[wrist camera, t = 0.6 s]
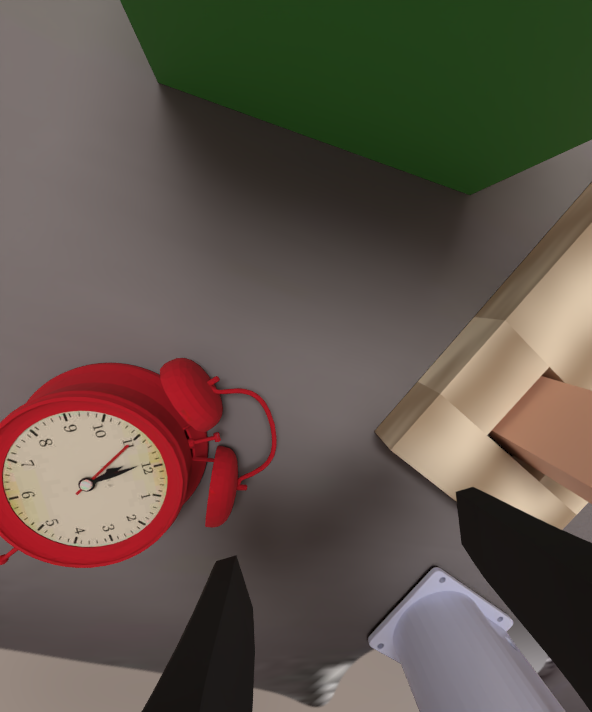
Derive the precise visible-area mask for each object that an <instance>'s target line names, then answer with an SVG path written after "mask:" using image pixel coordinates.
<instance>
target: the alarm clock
mask: <svg viewBox="0 0 592 712" xmlns="http://www.w3.org/2000/svg"><path fill="white" fill-rule="evenodd" d="M219 380H220V379H219V377H217V376H216V377H214V378H212V379H210V377H209V376H208V375H207V373H206V372H205V371H204V370H203V369H202V368H201V367H200V366H199V365H198V364H196V363H195V362H194V361H192V360H189V359H186V358H176V359H174V360H171V361H169V362H167V363H165V364H164V365H163V366H162V368H161V369H160V375H159V374H157V373H155V372H153V371H150V370H147V369H144V368H141V367H138V366H134V365H129V364H122V363H98V364H90V365H86V366H82V367H78V368H75V369H72V370H70V371H67V372H65V373H63V374H60V375H58V376H57V377H55V378H53V379H51V380H50V381H48V382H47V383H45V384H44V385H43V386H41V387H40V388H39V389H38V390H37V391H36V392H35V393H34V394H33V395H32V396H31V397H30V399H29V400H28V401H27V403H26V404H24V405H22V406H20V407H19V408H17V409H16V410H14V411H13V412H12V413H10V414H9V415H8V416H7V417H6V418H5V419H4V420H3V421H1V423H0V536H1V537H2V538H3V539H4V540H5V541H7V542H8V543H9V544H11V545H12V546H13V547H14V548H13V549H12V550H11V551H10V552H8V553H7V554H6V555H5V554H4V555H1V556H0V565H2V564H5V563H6V562H7V561H8V559H9V557H10V556H11V555H12V554H14V553H15V552H16V551H18V550H20V551H21V552H23V553H24V554H26V555H29V556H31V557H33V558H35V559H38V560H41V561H44V562H47V563H50V564H54V565H59V566H65V567H75V568H91V567H99V566H106V565H110V564H114V563H118V562H121V561H124V560H126V559H129V558H131V557H133V556H135V555H137V554H139V553H141V552H142V551H144V550H145V549H147V548H149V547H150V546H151V545H152V544H154V543H155V542H156V541H157V540H158V539H159V538H160V537H161V536H162V535H163V534H164V533H165V532H166V531H167V530H168V528H169V527H170V526H171V525H172V523H173V522H174V521H175V519H176V517H177V516H178V514H179V512H180V510H181V508H182V505H183V504H184V503H185V502H186V501H187V500H188V499H189V498H190V497H191V495H192V494H193V493H194V491H195V490H196V488H197V486H198V484H199V483H200V480H201V478H202V476H203V473H204V470H205V467H206V462H214V464H213V470H212V476H211V482H210V489H209V496H208V504H207V512H206V523H205V527H218V526H220V525H222V524H223V523H224V522H225V521H226V520H227V519H228V517H229V515H230V513H231V510H232V507H233V504H234V500H235V496H236V490H247V485H242V484H240V483H241V481H242V480H244V479H247V478H249V477H252V476H254V475H255V474H257V473H259V472H260V471H262V470H264V469H265V468H266V467H267V466H268V465H269V464H270V462H271V461H272V459H273V457H274V454H275V450H276V431H275V424H274V421H273V418H272V415H271V412H270V410H269V408H268V406H267V404H266V403H265V401H264V400H263V399H262V398H261V397H260V396H259V395H258V394H256V393H255V392H253V391H250V390H246V389H239V388H237V389H224V390H218V389H216V387H215V385H214V384H215V383H216V382H218V381H219ZM231 393H243V394H247V395H250V396H252V397H254V398H255V399H256V400H257V401H259V403H260V404H261V405H262V407H263V408H264V410H265V412H266V415H267V417H268V420H269V424H270V428H271V433H272V448H271V453H270V455H269V457H268V459H267V461H266V462H265V463H264V464H263V465H261V466H260V467H258V468H257V469H255V470H253V471H252V472H249V473H247V474H245V475H243V476H241V477H239V478H238V465H237V458H236V455H235V453H234V452H233V451H232V450H231V449H230V448H227V447H224V446H218V447H217V450H216V454H215V459H212V458H207V456H208V441H211V440H215V442H219V441H221V439H220V435H219V432H216V433H214V434H213V435H214V436H211V437H207V432H206V431H208V430H210V429H211V428H213V427H214V426H215V425H216V424H217V423H218V422H219V420H220V418H221V416H222V411H223V407H222V400H221V398H220V395H219V394H231Z"/></svg>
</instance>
